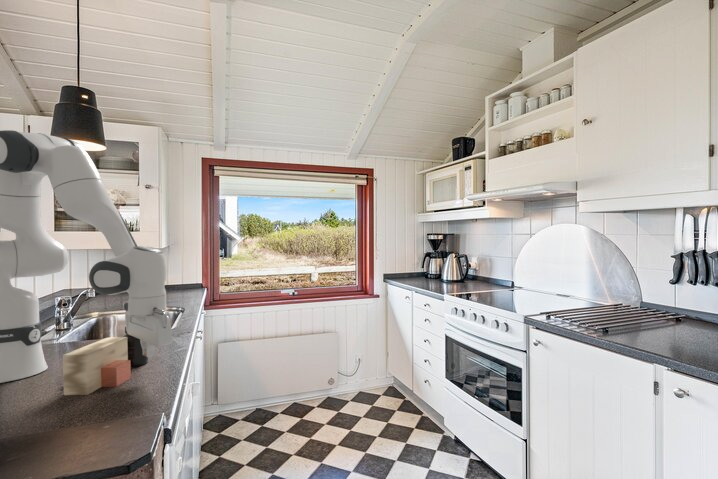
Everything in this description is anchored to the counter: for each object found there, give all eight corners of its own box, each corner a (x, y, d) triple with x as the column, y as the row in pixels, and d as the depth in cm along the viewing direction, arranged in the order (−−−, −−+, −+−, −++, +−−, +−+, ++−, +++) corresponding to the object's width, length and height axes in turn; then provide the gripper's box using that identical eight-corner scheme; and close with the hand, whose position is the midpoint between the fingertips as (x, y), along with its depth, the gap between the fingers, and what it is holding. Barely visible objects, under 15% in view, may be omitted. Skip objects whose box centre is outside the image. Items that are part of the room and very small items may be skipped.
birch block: (63, 395, 90) (62, 355, 90) (107, 371, 106) (106, 337, 106) (88, 394, 90) (87, 354, 90) (128, 371, 106) (127, 336, 106)
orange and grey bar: (130, 377, 101) (130, 359, 101) (116, 386, 95) (116, 367, 95) (79, 379, 101) (79, 361, 101) (62, 388, 95) (62, 369, 95)
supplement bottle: (131, 360, 116) (130, 323, 116) (152, 360, 115) (151, 322, 115) (116, 368, 109) (115, 328, 109) (139, 368, 109) (138, 328, 108)
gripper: (178, 309, 95) (178, 361, 96) (144, 299, 108) (144, 346, 108) (152, 313, 90) (153, 368, 90) (120, 303, 103) (120, 351, 103)
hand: (148, 356), depth 99 cm, fingers closed
